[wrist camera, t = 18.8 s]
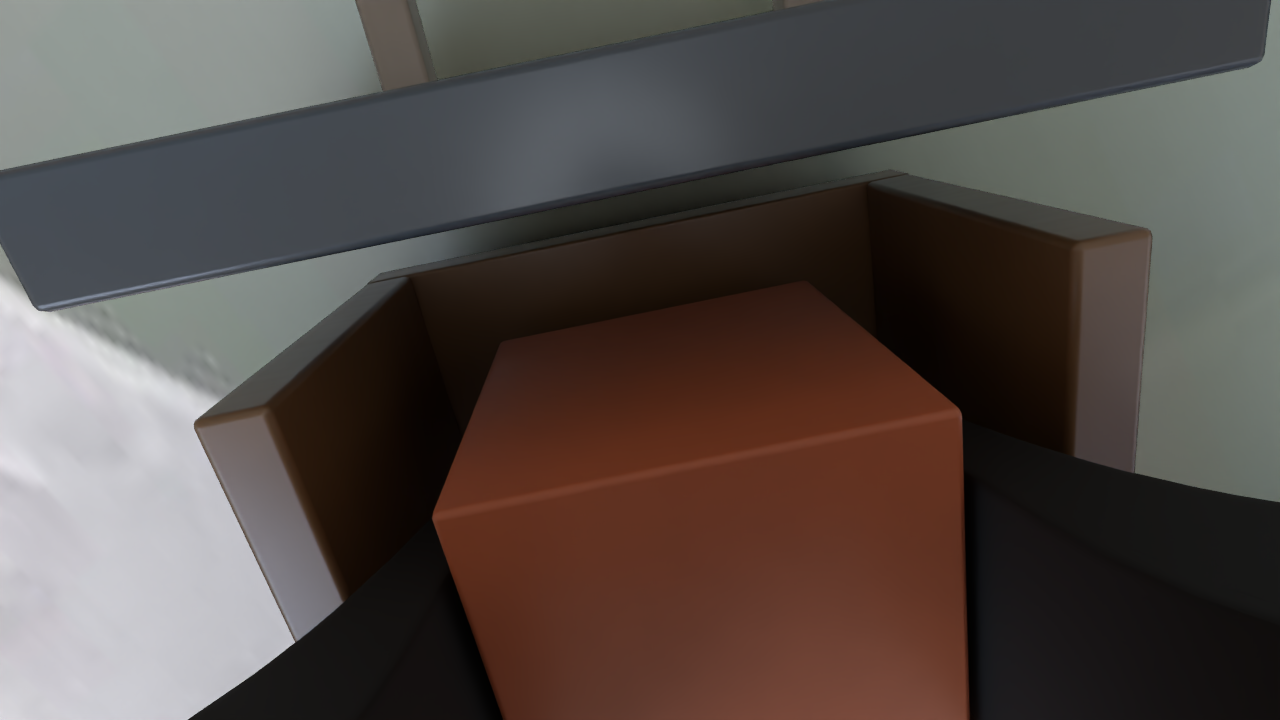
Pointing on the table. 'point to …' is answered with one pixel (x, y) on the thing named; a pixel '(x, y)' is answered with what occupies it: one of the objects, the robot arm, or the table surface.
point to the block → (713, 520)
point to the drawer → (626, 234)
